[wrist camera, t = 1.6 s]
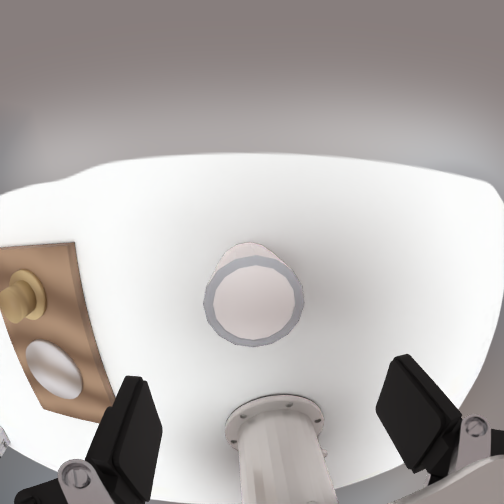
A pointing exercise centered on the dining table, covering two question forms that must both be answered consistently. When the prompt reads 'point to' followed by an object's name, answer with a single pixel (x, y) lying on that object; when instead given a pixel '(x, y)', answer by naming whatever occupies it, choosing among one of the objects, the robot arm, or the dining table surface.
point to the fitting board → (53, 329)
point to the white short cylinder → (253, 296)
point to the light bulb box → (3, 441)
